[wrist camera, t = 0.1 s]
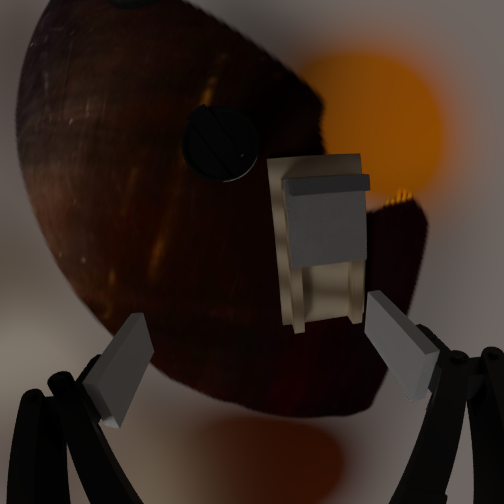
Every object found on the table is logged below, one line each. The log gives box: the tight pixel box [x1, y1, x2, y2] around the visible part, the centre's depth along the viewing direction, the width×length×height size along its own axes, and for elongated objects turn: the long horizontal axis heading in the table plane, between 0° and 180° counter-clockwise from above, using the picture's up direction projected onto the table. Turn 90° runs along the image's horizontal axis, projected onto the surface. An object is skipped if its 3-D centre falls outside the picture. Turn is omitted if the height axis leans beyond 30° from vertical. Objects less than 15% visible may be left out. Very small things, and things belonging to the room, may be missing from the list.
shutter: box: [283, 174, 370, 269], centre depth 36 cm, size 12×11×4 cm
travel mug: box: [181, 104, 260, 182], centre depth 30 cm, size 6×7×20 cm
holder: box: [267, 154, 365, 333], centre depth 41 cm, size 26×14×4 cm, turn 6°
